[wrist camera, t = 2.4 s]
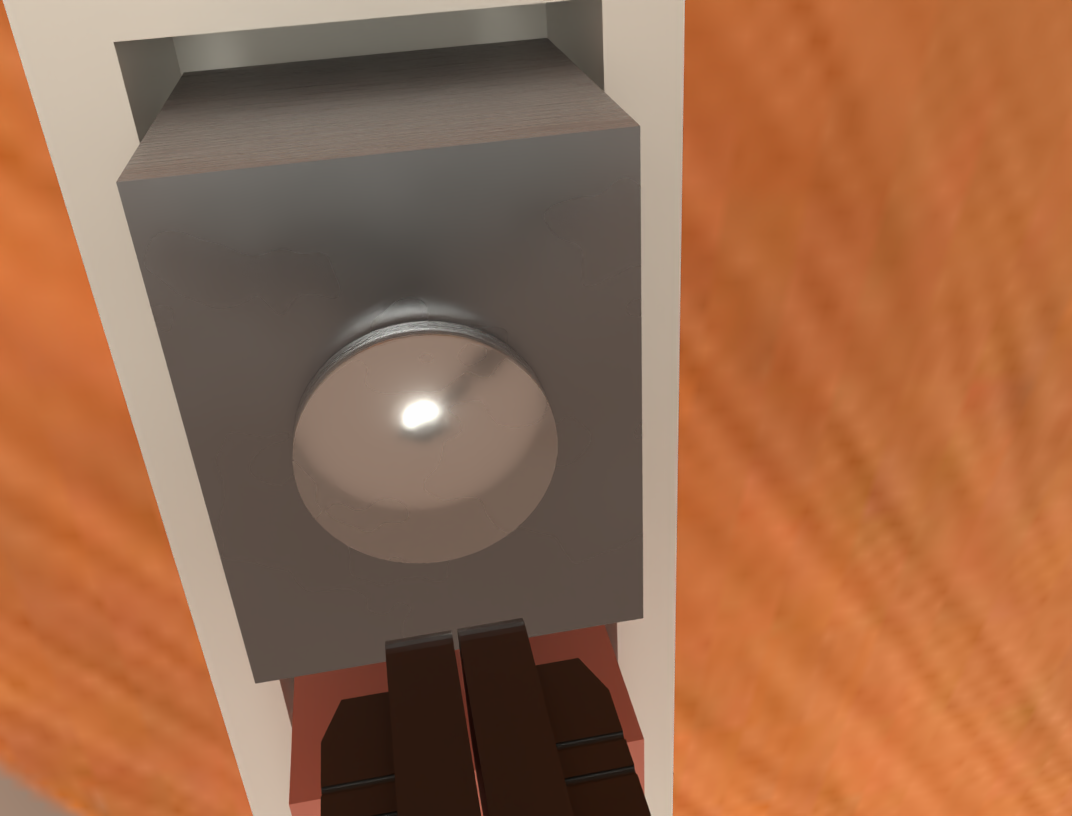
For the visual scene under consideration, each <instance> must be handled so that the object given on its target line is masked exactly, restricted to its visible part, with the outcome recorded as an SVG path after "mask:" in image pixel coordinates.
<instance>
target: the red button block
mask: <svg viewBox="0 0 1072 816" xmlns="http://www.w3.org/2000/svg"><path fill="white" fill-rule="evenodd" d="M529 642H530V646H531V650H532V653H533V657H534V661H535V665H540V664H546V663H552V662H558V661H563V660H569V659H575V658H579V659H580V660H581V661H582V662H583V663H584V664H585V665H586V666H587V667H588V668H589V669H590V670H591V671H592V672H593V673H594V675H595V676H596V677H597V678H598V679H599V680H600V681H601V682H602V683H603V684H604V685H605V686H606V687H607V688H608V689H609V691H610V694H611V697H612V700H613V703H614V706H615V709H616V712H617V715H618V718H619V721H620V724H621V727H622V730H623V735H624V739H626V742H627V745H628V748H629V751H630V754H631V757H632V760H633V762H634V767H635V772H636V774H638V777H639V780H640V783H641V786H642V789H643V792H644V795H645V790H644V737H643V734H642V732H641V729H640V726H639V723H638V720H637V717H636V714H635V711H634V708H633V705H632V703H631V700H630V697H629V694H628V691H627V688H626V685H625V682H624V679H623V677H622V674H621V671H620V668H619V665H618V662H617V659H616V656H615V653H614V650H613V648H612V645H611V642H610V639H609V636H608V633H607V630H606V627H605V625H600V626H594V627H588V628H582V629H576V630H571V631H565V632H559V633H553V634H547V635H541V636H535V637H529ZM455 655H456V661H457V667H458V673H459V680H460V686H461V692H462V698H463V705H464V711H465V717H466V723H467V729H468V736H469V742H470V748H471V754H472V761H473V767H474V773H475V779H476V785H477V792H478V798H479V804H480V810H481V816H483V813H482V807H481V800H480V794H479V788H478V782H477V775H476V769H475V762H474V756H473V749H472V742H471V734H470V727H469V719H468V712H467V704H466V696H465V688H464V680H463V673H462V665H461V657H460V649H458V650H455ZM383 692H388V680H387V667H386V662H381V663H375V664H369V665H363V666H357V667H352V668H346V669H340V670H334V671H328V672H322V673H316V674H310V675H304V676H298V677H294V698H293V720H292V743H291V766H290V789H289V807H290V811H291V814H292V816H321V796H322V794H321V741H322V739H323V737H324V735H325V732H326V730H327V728H328V726H329V724H330V722H331V720H332V718H333V716H334V714H335V712H336V710H337V708H338V705H339V703H340V701H341V700H343V699H349V698H355V697H360V696H366V695H372V694H377V693H383Z"/></svg>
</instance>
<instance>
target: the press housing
mask: <svg viewBox="0 0 1072 816" xmlns="http://www.w3.org/2000/svg"><path fill="white" fill-rule="evenodd" d="M3 3H4V6H5V9H6V13H7V16H8V19H9V23H10V26H11V29H12V32H13V36H14V39H15V42H16V45H17V49H18V52H19V55H20V58H21V62H22V65H23V68H24V71H25V75H26V78H27V81H28V84H29V88H30V91H31V94H32V97H33V101H34V104H35V107H36V110H37V114H38V117H39V120H40V123H41V127H42V130H43V133H44V136H45V140H46V143H47V146H48V149H49V153H50V156H51V159H52V162H53V166H54V169H55V172H56V175H57V179H58V182H59V185H60V189H61V192H62V195H63V198H64V202H65V205H66V208H67V211H68V215H69V218H70V221H71V224H72V228H73V231H74V234H75V237H76V241H77V244H78V247H79V250H80V254H81V257H82V260H83V263H84V267H85V270H86V273H87V276H88V280H89V283H90V286H91V289H92V293H93V296H94V299H95V302H96V306H97V309H98V312H99V315H100V319H101V322H102V325H103V328H104V332H105V335H106V338H107V341H108V345H109V348H110V351H111V355H112V358H113V361H114V364H115V368H116V371H117V374H118V377H119V381H120V384H121V387H122V390H123V394H124V397H125V400H126V403H127V407H128V410H129V413H130V416H131V420H132V423H133V426H134V429H135V433H136V436H137V439H138V442H139V446H140V449H141V452H142V455H143V459H144V462H145V465H146V468H147V472H148V475H149V478H150V481H151V485H152V488H153V491H154V494H155V498H156V501H157V504H158V507H159V511H160V514H161V517H162V521H163V524H164V527H165V530H166V534H167V537H168V540H169V543H170V547H171V550H172V553H173V556H174V560H175V563H176V566H177V569H178V573H179V576H180V579H181V582H182V586H183V589H184V592H185V595H186V599H187V602H188V605H189V608H190V612H191V615H192V618H193V621H194V625H195V628H196V631H197V634H198V638H199V641H200V644H201V647H202V651H203V654H204V657H205V660H206V664H207V667H208V670H209V673H210V677H211V680H212V683H213V686H214V690H215V693H216V696H217V700H218V703H219V706H220V709H221V713H222V716H223V719H224V722H225V726H226V729H227V732H228V735H229V739H230V742H231V745H232V748H233V752H234V755H235V758H236V761H237V765H238V768H239V771H240V774H241V778H242V781H243V784H244V787H245V791H246V794H247V797H248V800H249V804H250V807H251V810H252V813H253V816H292V814H291V811H290V807H289V789H290V766H291V743H292V720H293V698H294V677H292V678H286V679H280V680H275V681H269V682H263V683H257V684H255V681H254V678H253V674H252V670H251V667H250V663H249V659H248V656H247V652H246V649H245V645H244V641H243V638H242V634H241V631H240V627H239V623H238V620H237V616H236V613H235V609H234V605H233V602H232V598H231V595H230V591H229V587H228V584H227V580H226V577H225V573H224V569H223V566H222V562H221V559H220V555H219V551H218V548H217V544H216V541H215V537H214V533H213V530H212V526H211V523H210V519H209V515H208V512H207V508H206V505H205V501H204V497H203V494H202V490H201V487H200V483H199V479H198V476H197V472H196V469H195V465H194V461H193V458H192V454H191V451H190V447H189V443H188V440H187V436H186V432H185V429H184V425H183V422H182V418H181V414H180V411H179V407H178V404H177V400H176V396H175V393H174V389H173V386H172V382H171V378H170V375H169V371H168V368H167V364H166V360H165V357H164V353H163V350H162V346H161V342H160V339H159V335H158V332H157V328H156V324H155V321H154V317H153V314H152V310H151V306H150V303H149V299H148V296H147V292H146V288H145V285H144V281H143V278H142V274H141V270H140V267H139V263H138V260H137V256H136V252H135V249H134V245H133V242H132V238H131V234H130V231H129V227H128V224H127V220H126V216H125V213H124V209H123V205H122V202H121V198H120V195H119V191H118V187H117V184H116V181H117V180H118V178H119V177H120V175H121V173H122V172H123V170H124V168H125V167H126V165H127V164H128V162H129V160H130V159H131V157H132V156H133V154H134V152H135V151H136V149H137V147H138V146H139V144H140V143H141V141H142V139H143V138H144V136H145V134H146V133H147V131H148V130H149V128H150V126H151V125H152V123H153V122H154V120H155V118H156V117H157V115H158V113H159V112H160V110H161V109H162V107H163V105H164V104H165V102H166V101H167V99H168V97H169V96H170V94H171V92H172V91H173V89H174V88H175V86H176V84H177V83H178V81H179V79H180V78H181V76H182V75H183V73H184V72H193V71H203V70H214V69H224V68H235V67H245V66H255V65H266V64H276V63H287V62H297V61H308V60H318V59H329V58H339V57H350V56H360V55H371V54H381V53H392V52H402V51H413V50H423V49H434V48H444V47H455V46H465V45H476V44H486V43H497V42H507V41H518V40H528V39H539V38H548V39H549V40H550V41H551V42H552V43H553V44H554V45H555V46H556V47H557V48H558V49H560V50H561V51H562V52H563V53H564V54H565V55H566V56H567V57H568V58H569V59H570V60H571V61H572V62H573V63H574V64H575V65H576V66H578V67H579V68H580V69H581V70H582V71H583V72H584V73H585V74H586V75H587V76H588V77H589V78H590V79H591V80H592V81H593V82H594V83H596V84H597V85H598V86H599V87H600V88H601V89H602V90H603V91H604V92H605V93H606V94H607V95H608V96H609V97H610V98H611V99H612V100H613V101H615V102H616V103H617V104H618V105H619V106H620V107H621V108H622V109H623V110H624V111H625V112H626V113H627V114H628V115H629V116H630V117H631V118H633V119H634V120H635V121H636V122H637V123H638V124H639V125H640V160H641V317H642V475H643V618H642V619H636V620H630V621H624V622H618V623H612V624H606V625H605V627H606V630H607V633H608V636H609V639H610V642H611V645H612V648H613V650H614V653H615V656H616V659H617V662H618V665H619V668H620V671H621V674H622V677H623V679H624V682H625V685H626V688H627V691H628V694H629V697H630V700H631V703H632V705H633V708H634V711H635V714H636V717H637V720H638V723H639V726H640V729H641V732H642V734H643V737H644V790H645V798H646V801H647V804H648V807H649V810H650V813H651V816H673V752H674V685H675V619H676V553H677V486H678V420H679V353H680V287H681V221H682V154H683V88H684V22H685V0H3Z"/></svg>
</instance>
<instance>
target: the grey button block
mask: <svg viewBox="0 0 1072 816" xmlns="http://www.w3.org/2000/svg"><path fill="white" fill-rule="evenodd" d="M116 184H117V187H118V191H119V195H120V198H121V202H122V205H123V209H124V213H125V216H126V220H127V224H128V227H129V231H130V234H131V238H132V242H133V245H134V249H135V252H136V256H137V260H138V263H139V267H140V270H141V274H142V278H143V281H144V285H145V288H146V292H147V296H148V299H149V303H150V306H151V310H152V314H153V317H154V321H155V324H156V328H157V332H158V335H159V339H160V342H161V346H162V350H163V353H164V357H165V360H166V364H167V368H168V371H169V375H170V378H171V382H172V386H173V389H174V393H175V396H176V400H177V404H178V407H179V411H180V414H181V418H182V422H183V425H184V429H185V432H186V436H187V440H188V443H189V447H190V451H191V454H192V458H193V461H194V465H195V469H196V472H197V476H198V479H199V483H200V487H201V490H202V494H203V497H204V501H205V505H206V508H207V512H208V515H209V519H210V523H211V526H212V530H213V533H214V537H215V541H216V544H217V548H218V551H219V555H220V559H221V562H222V566H223V569H224V573H225V577H226V580H227V584H228V587H229V591H230V595H231V598H232V602H233V605H234V609H235V613H236V616H237V620H238V623H239V627H240V631H241V634H242V638H243V641H244V645H245V649H246V652H247V656H248V659H249V663H250V667H251V670H252V674H253V678H254V681H255V684H257V683H263V682H269V681H275V680H280V679H286V678H292V677H298V676H304V675H310V674H316V673H322V672H328V671H334V670H340V669H346V668H352V667H357V666H363V665H369V664H375V663H381V662H386V654H385V641H390V640H396V639H402V638H407V637H413V636H419V635H425V634H431V633H437V632H443V631H449V630H451V631H452V636H453V642H454V649H455V650H458V649H459V641H458V633H457V629H459V628H465V627H471V626H476V625H482V624H488V623H494V622H500V621H506V620H512V619H518V618H523V620H524V623H525V626H526V630H527V634H528V638H529V637H535V636H541V635H547V634H553V633H559V632H565V631H571V630H576V629H582V628H588V627H594V626H600V625H606V624H612V623H618V622H624V621H630V620H636V619H642V618H643V475H642V317H641V160H640V125H639V124H638V123H637V122H636V121H635V120H634V119H633V118H631V117H630V116H629V115H628V114H627V113H626V112H625V111H624V110H623V109H622V108H621V107H620V106H619V105H618V104H617V103H616V102H615V101H613V100H612V99H611V98H610V97H609V96H608V95H607V94H606V93H605V92H604V91H603V90H602V89H601V88H600V87H599V86H598V85H597V84H596V83H594V82H593V81H592V80H591V79H590V78H589V77H588V76H587V75H586V74H585V73H584V72H583V71H582V70H581V69H580V68H579V67H578V66H576V65H575V64H574V63H573V62H572V61H571V60H570V59H569V58H568V57H567V56H566V55H565V54H564V53H563V52H562V51H561V50H560V49H558V48H557V47H556V46H555V45H554V44H553V43H552V42H551V41H550V40H549V39H548V38H539V39H528V40H518V41H507V42H497V43H486V44H476V45H465V46H455V47H444V48H434V49H423V50H413V51H402V52H392V53H381V54H371V55H360V56H350V57H339V58H329V59H318V60H308V61H297V62H287V63H276V64H266V65H255V66H245V67H235V68H224V69H214V70H203V71H193V72H184V73H183V75H182V76H181V78H180V79H179V81H178V83H177V84H176V86H175V88H174V89H173V91H172V92H171V94H170V96H169V97H168V99H167V101H166V102H165V104H164V105H163V107H162V109H161V110H160V112H159V113H158V115H157V117H156V118H155V120H154V122H153V123H152V125H151V126H150V128H149V130H148V131H147V133H146V134H145V136H144V138H143V139H142V141H141V143H140V144H139V146H138V147H137V149H136V151H135V152H134V154H133V156H132V157H131V159H130V160H129V162H128V164H127V165H126V167H125V168H124V170H123V172H122V173H121V175H120V177H119V178H118V180H117V181H116Z"/></svg>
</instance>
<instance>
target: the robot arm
mask: <svg viewBox="0 0 1072 816" xmlns="http://www.w3.org/2000/svg"><path fill="white" fill-rule="evenodd" d="M457 633H458V641H459V649H460V657H461V665H462V673H463V680H464V688H465V696H466V704H467V712H468V719H469V727H470V734H471V742H472V749H473V756H474V762H475V769H476V775H477V782H478V788H479V794H480V800H481V807H482V813H483V816H651V813H650V810H649V807H648V804H647V801H646V798H645V795H644V792H643V789H642V786H641V783H640V780H639V777H638V774H636V772H635V767H634V762H633V760H632V757H631V754H630V751H629V748H628V745H627V742H626V739H624V735H623V730H622V727H621V724H620V721H619V718H618V715H617V712H616V709H615V706H614V703H613V700H612V697H611V694H610V691H609V689H608V688H607V687H606V686H605V685H604V684H603V683H602V682H601V681H600V680H599V679H598V678H597V677H596V676H595V675H594V673H593V672H592V671H591V670H590V669H589V668H588V667H587V666H586V665H585V664H584V663H583V662H582V661H581V660H580V659H579V658H575V659H569V660H563V661H558V662H552V663H546V664H540V665H535V661H534V657H533V653H532V650H531V646H530V642H529V638H528V634H527V630H526V626H525V623H524V620H523V618H518V619H512V620H506V621H500V622H494V623H488V624H482V625H476V626H471V627H465V628H459V629H457ZM385 654H386V667H387V680H388V692H383V693H377V694H372V695H366V696H360V697H355V698H349V699H343V700H341V701H340V703H339V705H338V708H337V710H336V712H335V714H334V716H333V718H332V720H331V722H330V724H329V726H328V728H327V730H326V732H325V735H324V737H323V739H322V741H321V794H322V796H321V816H481V810H480V804H479V798H478V792H477V785H476V779H475V773H474V767H473V761H472V754H471V748H470V742H469V736H468V729H467V723H466V717H465V711H464V705H463V698H462V692H461V686H460V680H459V673H458V667H457V661H456V655H455V649H454V642H453V636H452V631H451V630H449V631H443V632H437V633H431V634H425V635H419V636H413V637H407V638H402V639H396V640H390V641H385Z"/></svg>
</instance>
